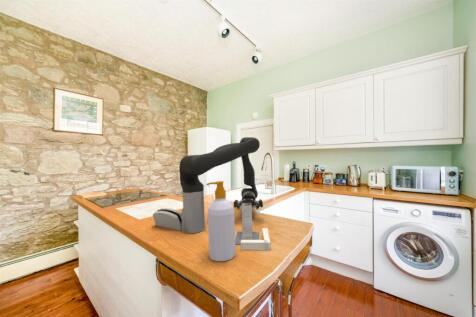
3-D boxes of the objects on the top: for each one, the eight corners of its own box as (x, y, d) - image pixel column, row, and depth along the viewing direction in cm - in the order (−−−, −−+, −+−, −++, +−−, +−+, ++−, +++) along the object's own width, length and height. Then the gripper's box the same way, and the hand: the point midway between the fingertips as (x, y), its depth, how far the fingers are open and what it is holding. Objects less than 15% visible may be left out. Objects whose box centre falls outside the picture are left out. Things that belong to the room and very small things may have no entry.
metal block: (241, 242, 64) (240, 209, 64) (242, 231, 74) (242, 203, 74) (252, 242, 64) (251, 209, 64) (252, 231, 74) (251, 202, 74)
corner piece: (240, 249, 60) (240, 242, 60) (242, 234, 72) (242, 228, 72) (270, 250, 59) (270, 242, 59) (267, 234, 72) (267, 228, 72)
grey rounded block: (189, 226, 83) (183, 208, 80) (182, 233, 79) (175, 214, 76) (163, 221, 90) (157, 205, 87) (156, 228, 86) (149, 210, 83)
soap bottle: (201, 256, 57) (199, 182, 57) (224, 245, 64) (221, 179, 64) (218, 266, 51) (215, 184, 51) (241, 253, 57) (238, 180, 58)
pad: (234, 244, 64) (234, 244, 64) (237, 232, 75) (237, 231, 75) (259, 245, 63) (259, 244, 63) (258, 232, 74) (258, 231, 74)
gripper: (235, 192, 98) (232, 199, 82) (261, 192, 97) (263, 199, 81) (236, 206, 98) (232, 215, 82) (261, 206, 97) (263, 215, 81)
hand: (247, 207), depth 82 cm, fingers open, 8 cm apart
